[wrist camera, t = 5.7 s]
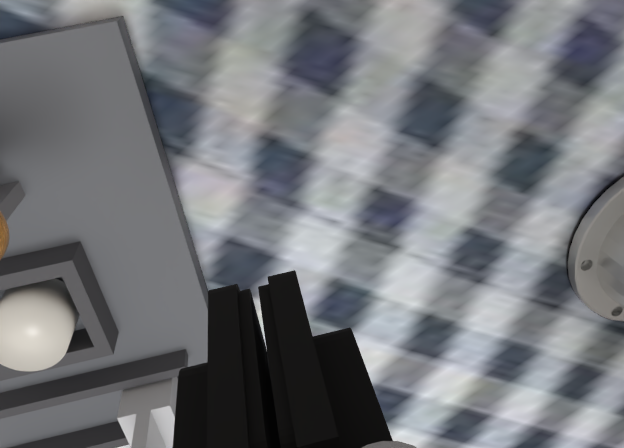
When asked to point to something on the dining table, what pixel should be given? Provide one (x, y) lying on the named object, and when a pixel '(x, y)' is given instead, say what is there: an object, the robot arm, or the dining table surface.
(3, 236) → the toggle lever
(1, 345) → the push button
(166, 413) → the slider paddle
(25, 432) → the control panel
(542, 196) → the dining table surface
